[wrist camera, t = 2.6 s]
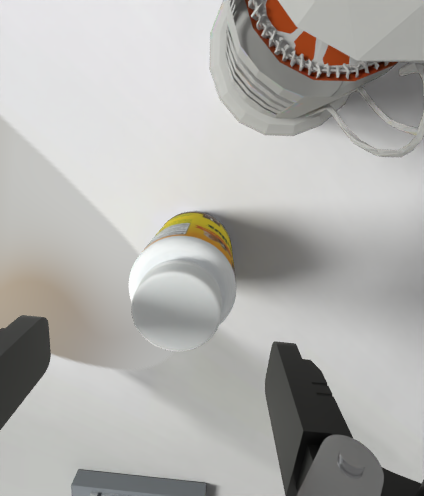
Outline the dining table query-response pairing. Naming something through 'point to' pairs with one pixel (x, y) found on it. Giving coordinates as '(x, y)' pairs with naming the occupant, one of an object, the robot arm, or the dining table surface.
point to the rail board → (133, 485)
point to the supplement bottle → (183, 282)
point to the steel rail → (107, 494)
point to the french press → (312, 60)
